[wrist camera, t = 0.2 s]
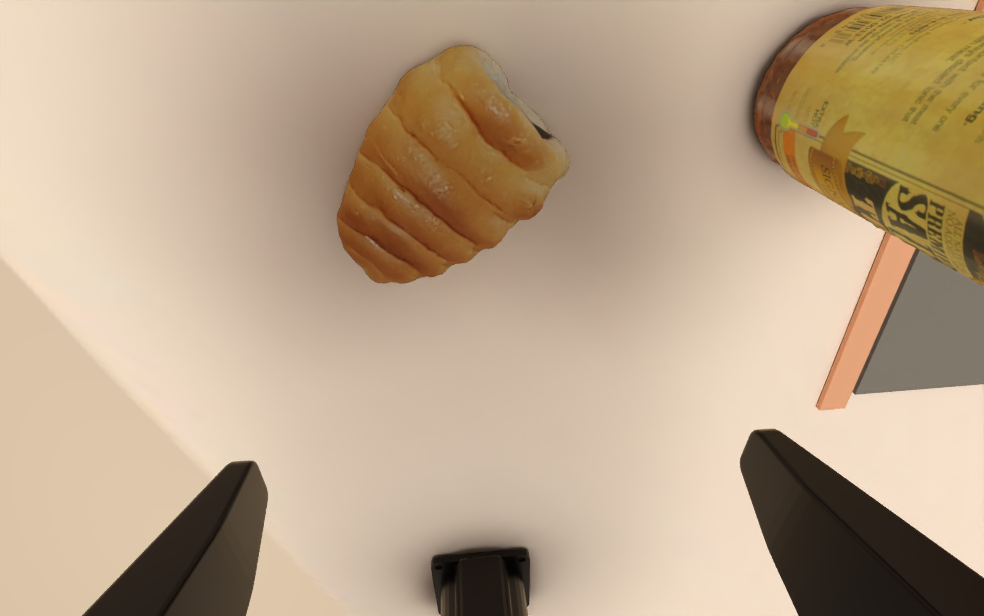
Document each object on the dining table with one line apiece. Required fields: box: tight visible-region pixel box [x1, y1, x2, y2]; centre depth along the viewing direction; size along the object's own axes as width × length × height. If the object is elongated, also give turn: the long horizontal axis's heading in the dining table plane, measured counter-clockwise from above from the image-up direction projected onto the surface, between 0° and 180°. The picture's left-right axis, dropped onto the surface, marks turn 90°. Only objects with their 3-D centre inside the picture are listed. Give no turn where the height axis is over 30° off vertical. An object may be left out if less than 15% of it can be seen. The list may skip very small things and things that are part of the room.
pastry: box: [337, 46, 569, 284], centre depth 20 cm, size 9×7×4 cm
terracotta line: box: [816, 0, 984, 410], centre depth 23 cm, size 26×2×1 cm, turn 2°
